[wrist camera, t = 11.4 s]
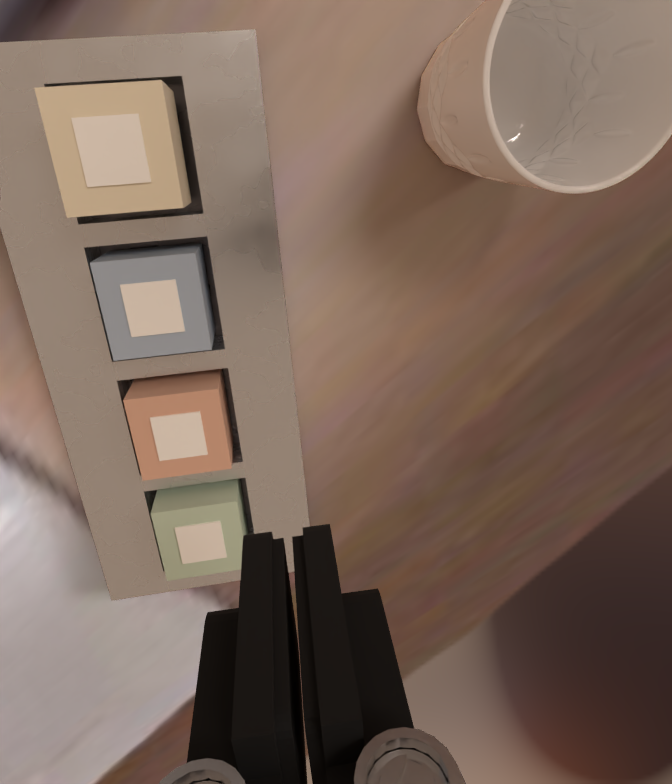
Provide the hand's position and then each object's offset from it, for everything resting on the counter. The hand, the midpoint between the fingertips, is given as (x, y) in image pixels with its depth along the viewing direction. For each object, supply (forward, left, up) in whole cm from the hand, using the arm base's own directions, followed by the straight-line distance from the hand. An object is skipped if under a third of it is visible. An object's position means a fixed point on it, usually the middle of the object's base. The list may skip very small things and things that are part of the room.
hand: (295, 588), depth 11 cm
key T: (+5, -2, -20) cm, 21 cm away
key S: (+5, -9, -19) cm, 21 cm away
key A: (+5, +4, -20) cm, 21 cm away
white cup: (-12, -10, -22) cm, 27 cm away
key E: (+5, +11, -20) cm, 24 cm away
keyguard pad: (+5, +1, -21) cm, 22 cm away
